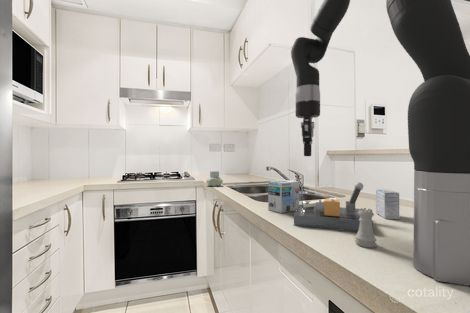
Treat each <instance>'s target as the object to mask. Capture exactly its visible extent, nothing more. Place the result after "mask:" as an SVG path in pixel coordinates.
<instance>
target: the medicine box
mask: <svg viewBox="0 0 470 313" xmlns="http://www.w3.org/2000/svg"><path fill="white" fill-rule="evenodd" d="M375 197H376V198H375V203H376V204H375V213H376V214H377V215H378V214H379V215H378V216H380V217H382V218H383V219H386V220H397V219H398V220H400V215H401V214H400V192H397V191H394V190H390V189H376V190H375Z"/></svg>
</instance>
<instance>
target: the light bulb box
mask: <svg viewBox="0 0 470 313" xmlns="http://www.w3.org/2000/svg"><path fill="white" fill-rule="evenodd" d="M300 184H301V182H300V181H299V180H292V179H291V180H290V179H289V180H288V179H282V180H270V181H268V190H267V192H268V195H267V196H268V201H267V203H268V204H267V205H268V206H267V208H268V211H271V212H276V213H279V214H283V213H287V212H289V213H290V212H294V211H295V212H296V210H297V208H298V207H299V205H300V186H301V185H300Z"/></svg>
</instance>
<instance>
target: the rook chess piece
mask: <svg viewBox="0 0 470 313" xmlns="http://www.w3.org/2000/svg"><path fill="white" fill-rule="evenodd" d="M359 209H360V211H359V212H358V214H359V215H360V219H359V220H360V225H359V231H358V232H357V233H356V234H355V236H354V238H355V240H354V242H355V244H356V245H357V246H358V247H363V248H366V249H373V248H376V246H377V245H378V244H377V240H378V239H377V238H376V236H375V234H374V231H373V230H372V222H373V217H374V216H375V214H374V212H373V209H371V208H366V207H365V208H363V207H361V208H359ZM363 209H364V210H363Z"/></svg>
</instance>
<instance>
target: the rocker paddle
mask: <svg viewBox="0 0 470 313" xmlns="http://www.w3.org/2000/svg"><path fill="white" fill-rule="evenodd" d="M332 198H333V199H334V200H338V197H332ZM325 199H326V198H324V199H322V200H317V199H316V200H312V201H311V200H306V201H307V202H304V204H303V205H304V208H307V207H313V206H316V202H324V200H325ZM328 199H330V197H329V198H328ZM309 201H311V202H309Z"/></svg>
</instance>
